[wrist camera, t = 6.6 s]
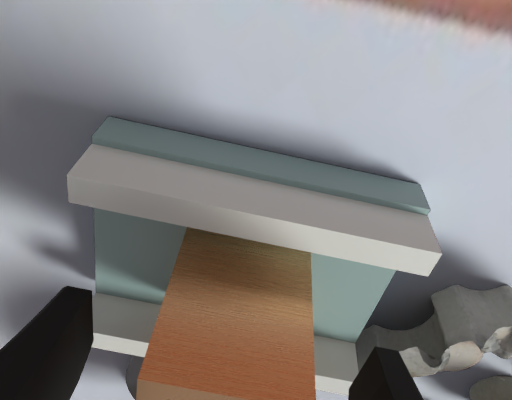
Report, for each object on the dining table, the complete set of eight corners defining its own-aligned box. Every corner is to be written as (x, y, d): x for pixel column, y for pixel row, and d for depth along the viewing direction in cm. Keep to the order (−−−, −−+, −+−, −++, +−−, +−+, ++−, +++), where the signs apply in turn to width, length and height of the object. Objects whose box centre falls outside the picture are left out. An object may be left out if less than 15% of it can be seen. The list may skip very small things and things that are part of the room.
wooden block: (282, 317, 15) (275, 483, 10) (179, 297, 14) (132, 458, 10) (310, 241, 12) (316, 411, 8) (190, 216, 12) (137, 379, 8)
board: (342, 331, 17) (349, 399, 14) (108, 285, 16) (78, 348, 14) (420, 184, 12) (446, 247, 10) (108, 116, 12) (66, 167, 10)
